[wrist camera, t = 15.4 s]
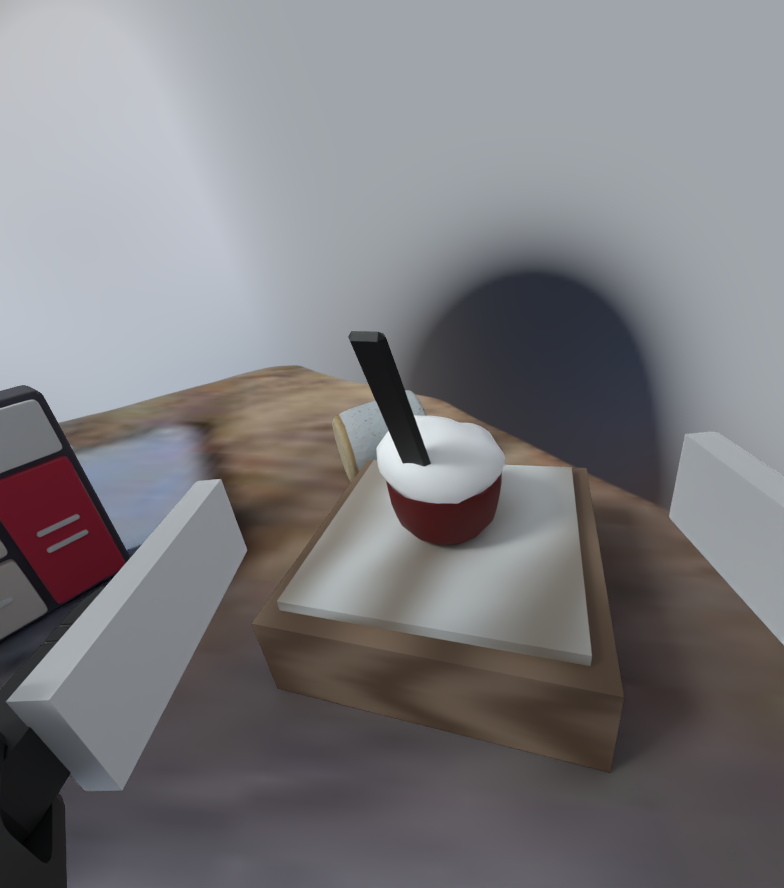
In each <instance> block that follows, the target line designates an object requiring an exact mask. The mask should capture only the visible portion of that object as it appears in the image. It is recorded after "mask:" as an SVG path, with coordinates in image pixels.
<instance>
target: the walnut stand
mask: <svg viewBox="0 0 784 888" xmlns="http://www.w3.org/2000/svg"><path fill="white" fill-rule="evenodd" d="M251 624H252V627H253V629H254V632H255V634H256V637H257V639H258V641H259V644H260V646H261V649H262V651H263V654H264V656H265V659H266V661H267V664H268V666H269V668H270V671H271V673H272V676H273V678H274V681H275V683H276V686H277V688H278V689H282V690H286V691H290V692H294V693H298V694H302V695H306V696H310V697H314V698H318V699H322V700H326V701H330V702H334V703H338V704H342V705H345V706H349V707H353V708H357V709H361V710H365V711H369V712H373V713H377V714H381V715H385V716H389V717H393V718H397V719H401V720H405V721H409V722H413V723H417V724H420V725H424V726H428V727H432V728H436V729H440V730H444V731H448V732H452V733H456V734H460V735H464V736H468V737H472V738H476V739H480V740H484V741H488V742H492V743H496V744H499V745H503V746H507V747H511V748H515V749H519V750H523V751H527V752H531V753H535V754H539V755H543V756H547V757H551V758H555V759H559V760H563V761H567V762H571V763H575V764H578V765H582V766H586V767H590V768H594V769H598V770H602V771H606V772H610V773H611V767H612V762H613V756H614V751H615V745H616V740H617V734H618V729H619V723H620V718H621V712H622V707H623V701H624V693H623V687H622V681H621V675H620V669H619V663H618V657H617V651H616V645H615V639H614V632H613V626H612V620H611V614H610V608H609V602H608V596H607V590H606V584H605V578H604V572H603V566H602V560H601V554H600V548H599V541H598V535H597V529H596V523H595V517H594V511H593V505H592V499H591V493H590V487H589V481H588V475H587V469H586V468H572V467H547V466H520V465H504V467H503V469H502V483H501V490H500V496H499V501H498V505H497V510H496V513H495V516H494V519H493V521H492V522H491V523H490V524H489V525H488V526H487V527H486V528H485V529H484V530H483V531H482V532H481V533H479V534H478V535H477V536H476V537H475V538H473V539H470V540H467V541H465V542H462V543H459V544H447V545H437V544H433V543H429V542H426V541H422V540H420V539H418V538H417V537H416V536H414V535H413V534H412V533H411V532H409V531H408V530H407V529H406V528H404V527H403V526H402V525H401V523H400V521H399V519H398V518H397V516H396V514H395V511H394V509H393V506H392V504H391V500H390V496H389V492H388V487H387V483H386V479H385V478H384V477H383V476H382V474H381V473H380V471H379V468H378V462H377V460H367V461H366V463H365V464H364V466H363V467H362V468H361V470H360V471H359V473H358V474H357V475H356V477H355V478H354V480H353V481H352V483H351V484H350V485H349V487H348V488H347V490H346V491H345V492H344V494H343V495H342V497H341V498H340V499H339V501H338V502H337V504H336V505H335V506H334V508H333V509H332V511H331V512H330V513H329V515H328V516H327V518H326V519H325V520H324V522H323V523H322V525H321V526H320V527H319V529H318V530H317V532H316V533H315V534H314V536H313V537H312V539H311V540H310V542H309V543H308V544H307V546H306V547H305V549H304V550H303V551H302V553H301V554H300V556H299V557H298V558H297V560H296V561H295V563H294V564H293V565H292V567H291V568H290V570H289V571H288V572H287V574H286V575H285V577H284V578H283V579H282V581H281V582H280V584H279V585H278V586H277V588H276V589H275V591H274V592H273V594H272V595H271V596H270V598H269V599H268V601H267V602H266V603H265V605H264V606H263V608H262V609H261V610H260V612H259V613H258V615H257V616H256V617H255V619H254V620H253V622H252V623H251Z"/></svg>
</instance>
